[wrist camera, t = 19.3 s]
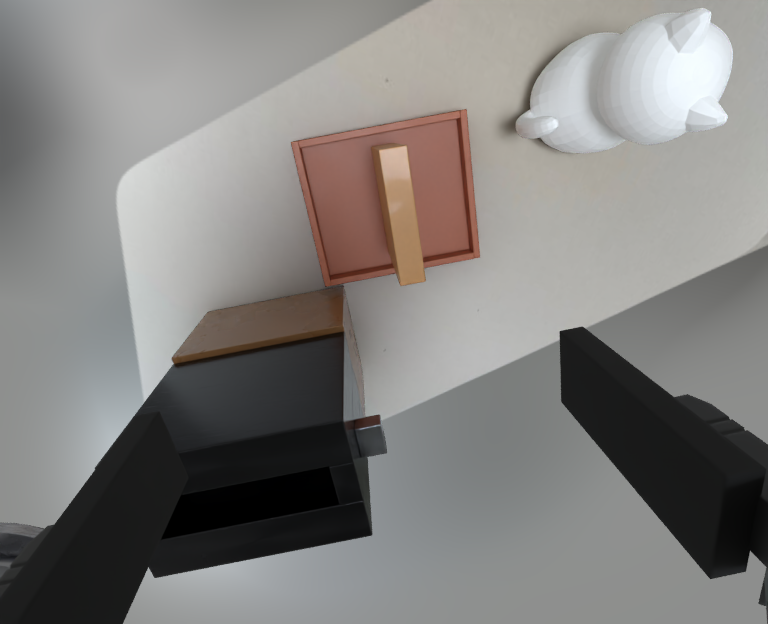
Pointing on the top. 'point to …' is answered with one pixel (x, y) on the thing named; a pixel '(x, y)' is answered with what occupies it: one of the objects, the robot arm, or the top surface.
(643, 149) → the top surface
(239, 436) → the toaster
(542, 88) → the cat figurine
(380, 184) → the toast
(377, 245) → the tray
